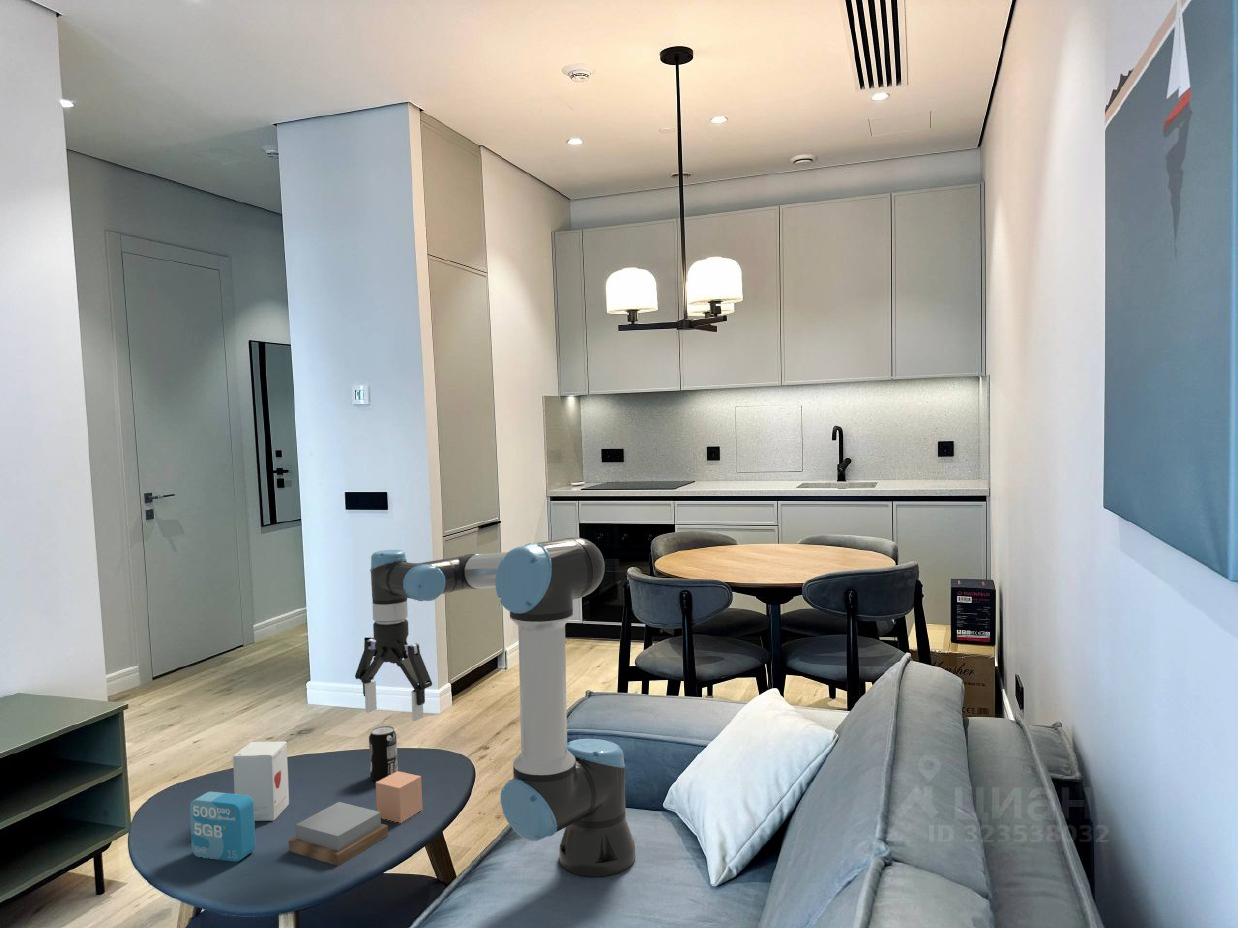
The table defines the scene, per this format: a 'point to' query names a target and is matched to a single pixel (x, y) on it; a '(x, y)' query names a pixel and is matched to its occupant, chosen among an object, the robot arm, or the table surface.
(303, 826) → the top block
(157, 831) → the table surface
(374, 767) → the beverage can
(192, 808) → the data package
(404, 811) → the terracotta block
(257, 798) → the supplement box
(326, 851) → the base block
